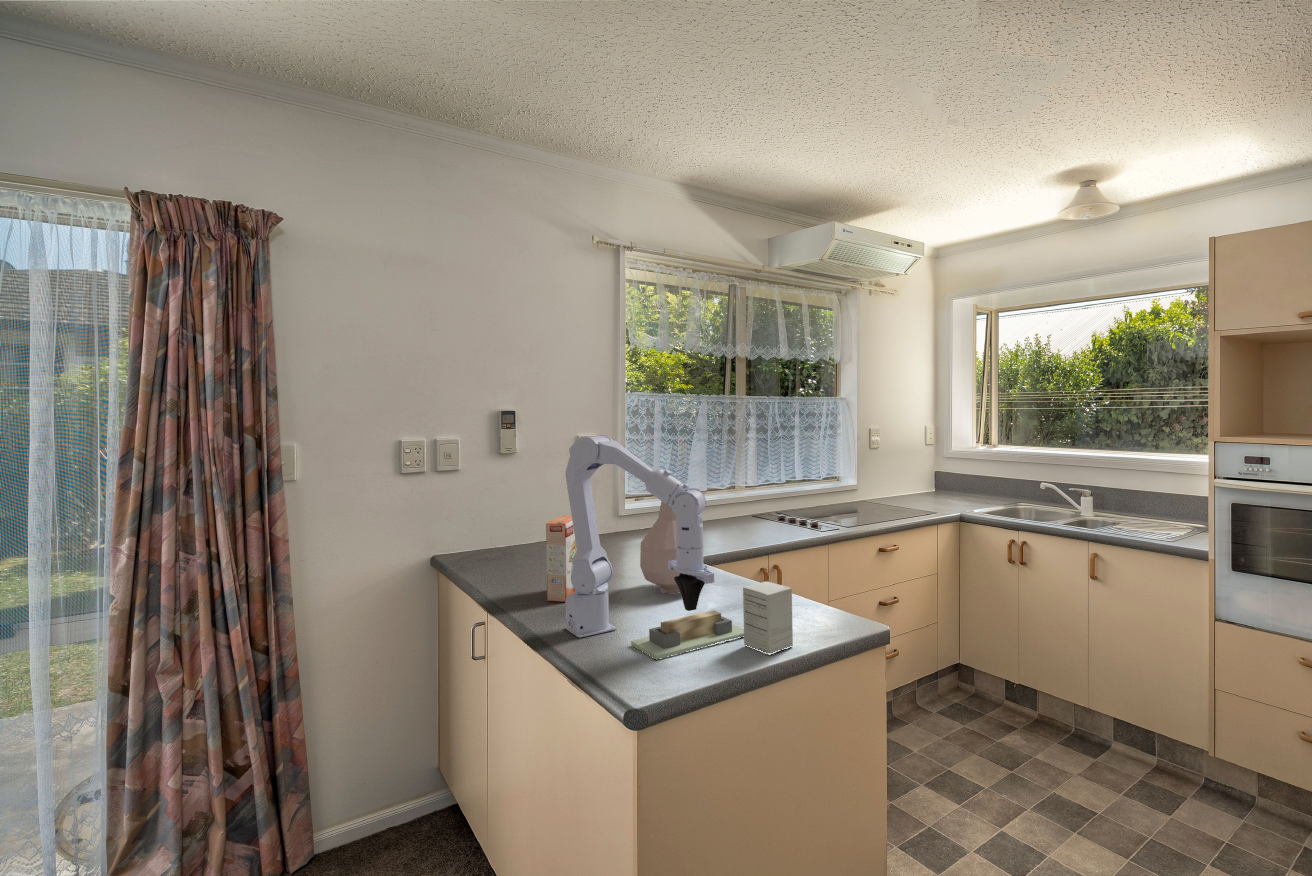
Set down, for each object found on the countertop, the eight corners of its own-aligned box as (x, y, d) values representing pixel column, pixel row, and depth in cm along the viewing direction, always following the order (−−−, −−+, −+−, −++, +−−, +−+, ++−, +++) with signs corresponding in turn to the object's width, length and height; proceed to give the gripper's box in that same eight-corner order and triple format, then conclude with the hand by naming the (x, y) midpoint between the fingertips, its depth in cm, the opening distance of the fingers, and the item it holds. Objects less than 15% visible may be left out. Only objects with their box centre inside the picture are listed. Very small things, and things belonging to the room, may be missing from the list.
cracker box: (568, 602, 165) (566, 523, 164) (546, 602, 166) (544, 522, 165) (584, 588, 179) (583, 514, 178) (564, 587, 180) (562, 514, 179)
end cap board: (656, 660, 125) (655, 643, 125) (631, 645, 134) (630, 629, 134) (749, 636, 138) (749, 620, 138) (721, 623, 146) (721, 608, 146)
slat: (667, 644, 131) (667, 625, 131) (661, 641, 133) (660, 622, 133) (721, 631, 138) (721, 613, 138) (714, 628, 140) (714, 610, 140)
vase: (649, 602, 164) (647, 487, 163) (633, 584, 181) (631, 480, 180) (713, 595, 169) (711, 483, 168) (691, 579, 186) (690, 477, 185)
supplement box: (767, 638, 136) (766, 580, 136) (793, 648, 131) (793, 587, 130) (742, 646, 132) (741, 586, 132) (768, 656, 126) (768, 594, 126)
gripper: (725, 550, 131) (726, 614, 131) (686, 538, 143) (686, 598, 144) (698, 554, 127) (698, 621, 128) (659, 542, 139) (660, 603, 140)
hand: (690, 609), depth 135 cm, fingers closed
